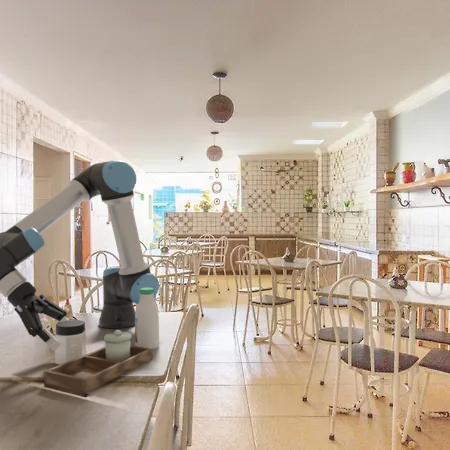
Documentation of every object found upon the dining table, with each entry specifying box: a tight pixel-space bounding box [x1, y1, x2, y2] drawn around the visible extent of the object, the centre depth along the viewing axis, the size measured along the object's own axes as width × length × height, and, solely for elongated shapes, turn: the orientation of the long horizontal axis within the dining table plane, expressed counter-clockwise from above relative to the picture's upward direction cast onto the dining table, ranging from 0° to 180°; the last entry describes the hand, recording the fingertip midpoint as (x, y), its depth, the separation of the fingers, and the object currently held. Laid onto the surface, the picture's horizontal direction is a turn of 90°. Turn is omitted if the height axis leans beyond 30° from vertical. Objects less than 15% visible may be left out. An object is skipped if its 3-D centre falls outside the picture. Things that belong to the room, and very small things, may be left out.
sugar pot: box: [103, 329, 132, 362], centre depth 123 cm, size 8×8×10 cm
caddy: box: [43, 344, 153, 398], centre depth 117 cm, size 27×14×4 cm, turn 154°
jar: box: [54, 319, 87, 365], centre depth 125 cm, size 9×8×12 cm
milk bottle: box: [134, 288, 160, 350], centre depth 138 cm, size 8×8×20 cm
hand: (67, 340), depth 124 cm, fingers open, 13 cm apart
